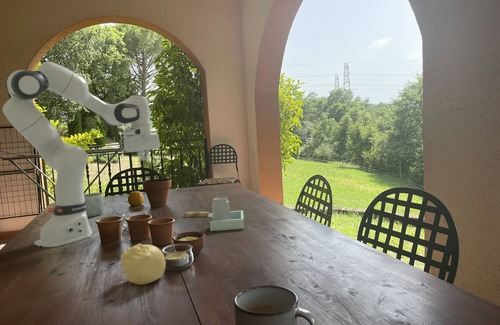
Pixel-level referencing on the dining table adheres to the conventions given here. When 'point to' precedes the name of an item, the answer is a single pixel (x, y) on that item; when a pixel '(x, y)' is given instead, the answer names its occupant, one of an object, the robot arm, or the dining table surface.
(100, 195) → the planter
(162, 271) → the pomelo
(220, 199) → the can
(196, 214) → the scraper
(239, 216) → the frame
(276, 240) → the dining table surface
